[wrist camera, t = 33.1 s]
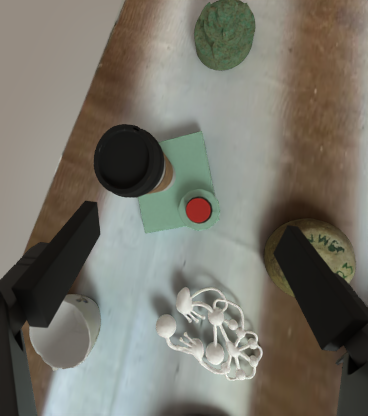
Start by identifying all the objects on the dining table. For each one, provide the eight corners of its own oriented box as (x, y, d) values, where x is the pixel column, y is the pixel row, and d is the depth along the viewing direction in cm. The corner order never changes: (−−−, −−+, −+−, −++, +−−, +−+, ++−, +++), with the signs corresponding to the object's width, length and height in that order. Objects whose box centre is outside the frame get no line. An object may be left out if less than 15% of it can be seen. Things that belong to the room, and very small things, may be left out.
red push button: (185, 200, 35) (183, 200, 33) (208, 196, 34) (207, 195, 33) (190, 223, 35) (188, 224, 33) (212, 219, 34) (212, 220, 33)
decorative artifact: (258, 59, 36) (245, 4, 36) (267, 25, 29) (252, -44, 29) (202, 78, 37) (190, 25, 37) (198, 50, 30) (184, -15, 30)
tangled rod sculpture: (279, 332, 38) (288, 347, 34) (231, 391, 38) (235, 412, 34) (195, 267, 39) (195, 274, 35) (152, 325, 40) (146, 338, 36)
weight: (338, 211, 34) (358, 213, 29) (352, 289, 34) (374, 304, 29) (256, 224, 37) (262, 228, 32) (269, 297, 37) (277, 312, 32)
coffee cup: (191, 165, 36) (171, 141, 21) (169, 206, 37) (136, 211, 22) (151, 144, 37) (106, 107, 22) (131, 185, 38) (75, 175, 23)
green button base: (133, 152, 40) (124, 147, 36) (205, 134, 38) (203, 126, 34) (149, 236, 40) (142, 240, 36) (222, 223, 38) (223, 226, 34)
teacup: (69, 273, 44) (36, 289, 36) (121, 295, 42) (98, 317, 34) (52, 335, 45) (17, 364, 37) (101, 359, 43) (75, 395, 35)
